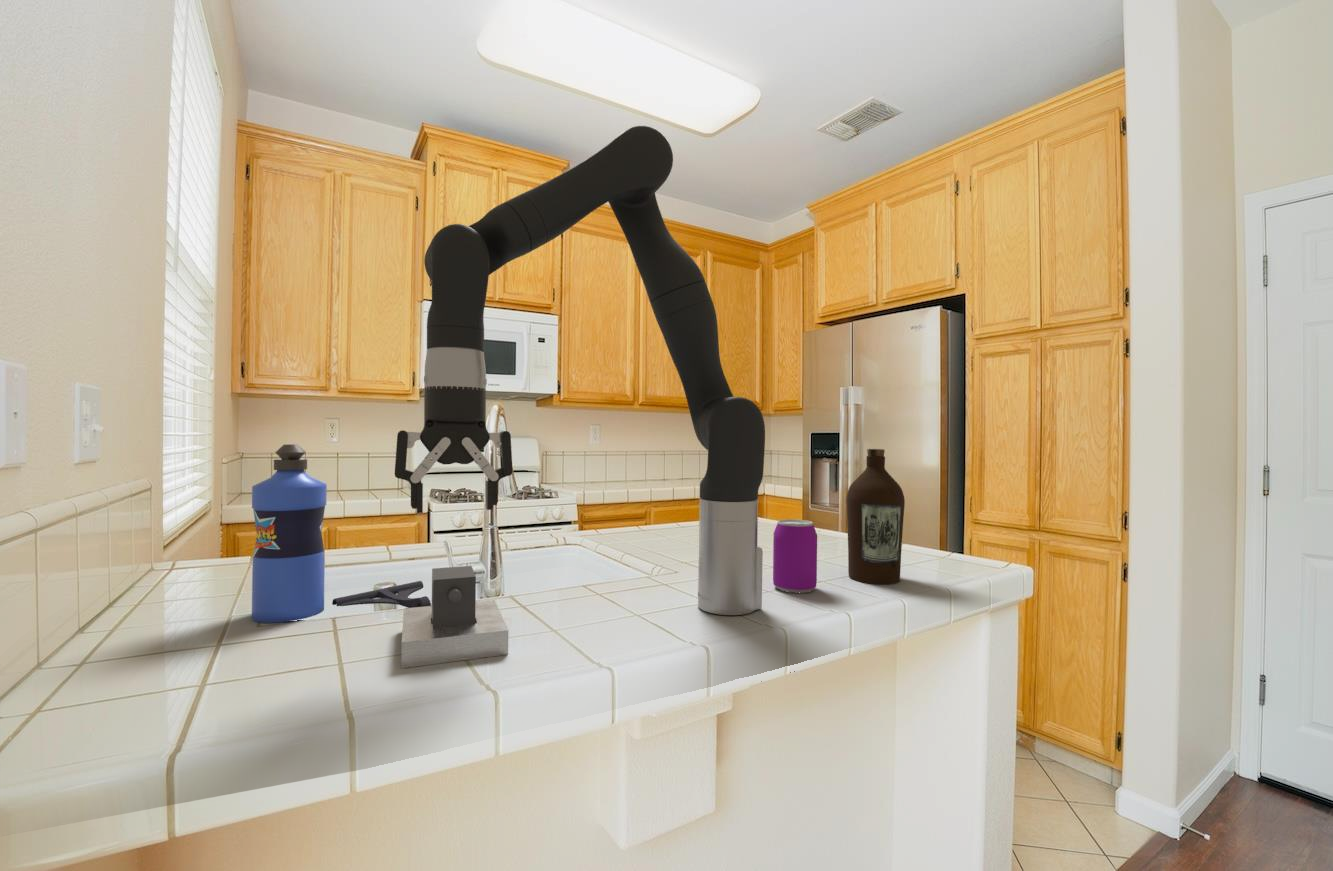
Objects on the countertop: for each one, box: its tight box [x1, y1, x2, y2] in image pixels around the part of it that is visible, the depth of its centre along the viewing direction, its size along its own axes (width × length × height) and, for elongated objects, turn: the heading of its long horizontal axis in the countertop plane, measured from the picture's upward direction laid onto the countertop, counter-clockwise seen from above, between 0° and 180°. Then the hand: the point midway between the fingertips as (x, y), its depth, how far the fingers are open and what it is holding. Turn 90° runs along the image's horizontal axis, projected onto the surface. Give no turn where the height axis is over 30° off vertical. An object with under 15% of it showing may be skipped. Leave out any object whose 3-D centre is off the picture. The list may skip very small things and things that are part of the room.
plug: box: [431, 565, 477, 628], centre depth 76 cm, size 5×8×8 cm, turn 23°
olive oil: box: [845, 448, 906, 585], centre depth 114 cm, size 11×11×25 cm
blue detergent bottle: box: [251, 443, 328, 624], centre depth 88 cm, size 9×9×25 cm
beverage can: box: [772, 518, 818, 594], centre depth 106 cm, size 8×8×12 cm
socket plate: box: [400, 599, 509, 669], centre depth 77 cm, size 12×14×3 cm
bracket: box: [331, 580, 432, 608], centre depth 94 cm, size 14×15×3 cm
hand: (455, 510), depth 77 cm, fingers open, 8 cm apart
